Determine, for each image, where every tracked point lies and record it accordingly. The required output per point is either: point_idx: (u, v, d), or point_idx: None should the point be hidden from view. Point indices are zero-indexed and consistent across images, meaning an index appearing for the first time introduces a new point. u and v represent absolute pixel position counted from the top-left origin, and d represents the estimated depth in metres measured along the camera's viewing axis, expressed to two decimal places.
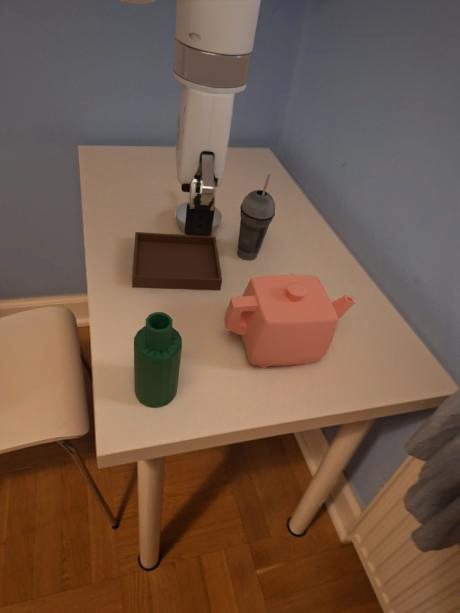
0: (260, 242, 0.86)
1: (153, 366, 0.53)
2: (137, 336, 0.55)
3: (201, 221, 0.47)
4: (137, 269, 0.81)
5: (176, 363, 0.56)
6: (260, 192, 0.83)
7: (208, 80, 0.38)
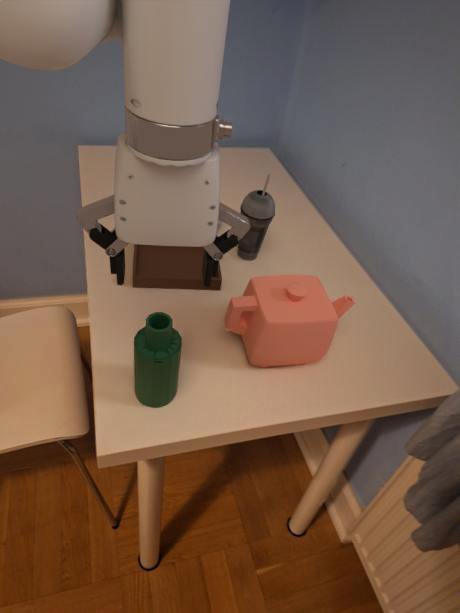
0: (260, 242, 0.86)
1: (153, 366, 0.53)
2: (137, 336, 0.55)
3: None
4: (137, 269, 0.81)
5: (176, 363, 0.56)
6: (260, 192, 0.83)
7: None
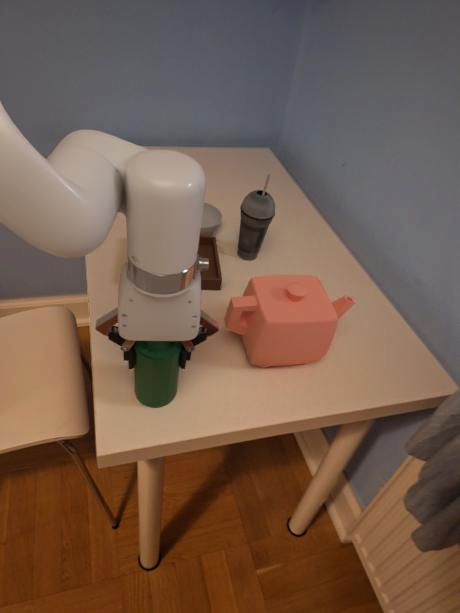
0: (260, 242, 0.86)
1: (153, 366, 0.53)
2: None
3: None
4: None
5: (176, 363, 0.56)
6: (260, 192, 0.83)
7: None
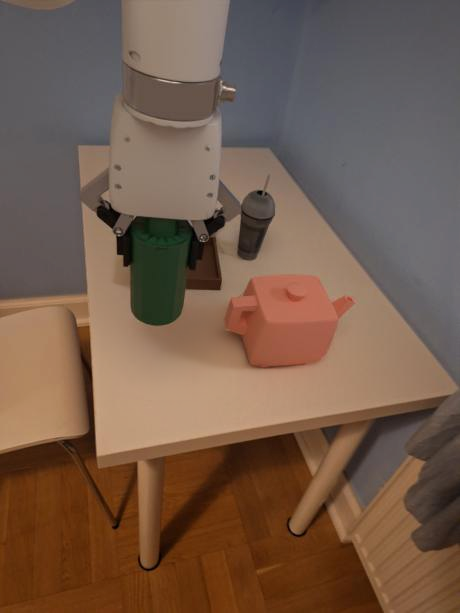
0: (260, 242, 0.86)
1: (155, 257, 0.41)
2: (135, 221, 0.42)
3: None
4: None
5: (185, 259, 0.43)
6: (260, 192, 0.83)
7: None
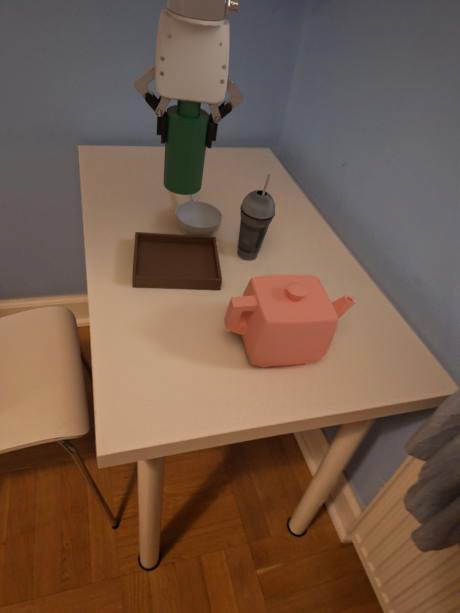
0: (260, 242, 0.86)
1: (184, 130, 0.60)
2: (169, 108, 0.61)
3: (157, 123, 0.61)
4: (137, 269, 0.81)
5: (204, 136, 0.62)
6: (260, 192, 0.83)
7: None
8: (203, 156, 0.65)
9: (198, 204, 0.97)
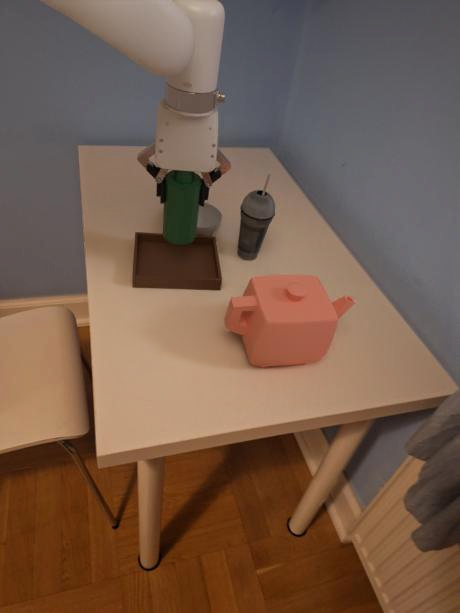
0: (260, 242, 0.86)
1: (180, 195, 0.69)
2: (167, 174, 0.70)
3: None
4: (137, 269, 0.81)
5: (197, 197, 0.71)
6: (260, 192, 0.83)
7: None
8: (197, 212, 0.74)
9: None
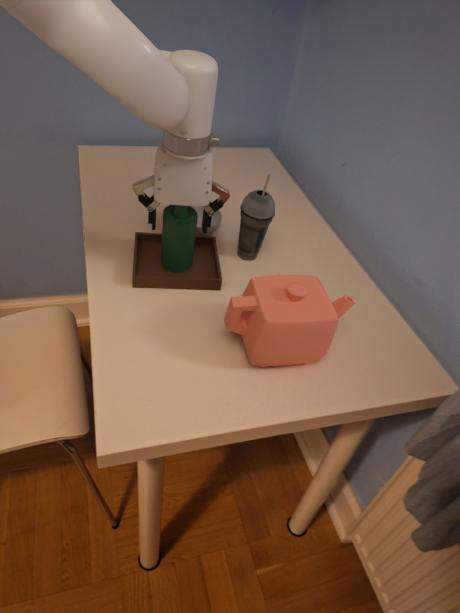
0: (260, 242, 0.86)
1: (177, 229, 0.74)
2: (165, 209, 0.75)
3: (148, 214, 0.75)
4: (137, 269, 0.81)
5: (193, 230, 0.76)
6: (260, 192, 0.83)
7: None
8: (193, 243, 0.79)
9: None
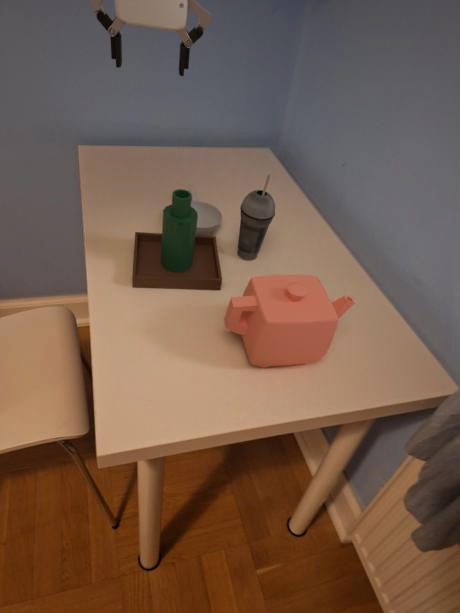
0: (260, 242, 0.86)
1: (177, 229, 0.74)
2: (165, 209, 0.75)
3: (111, 45, 0.61)
4: (137, 269, 0.81)
5: (193, 230, 0.76)
6: (260, 192, 0.83)
7: None
8: (193, 243, 0.79)
9: (198, 204, 0.97)
